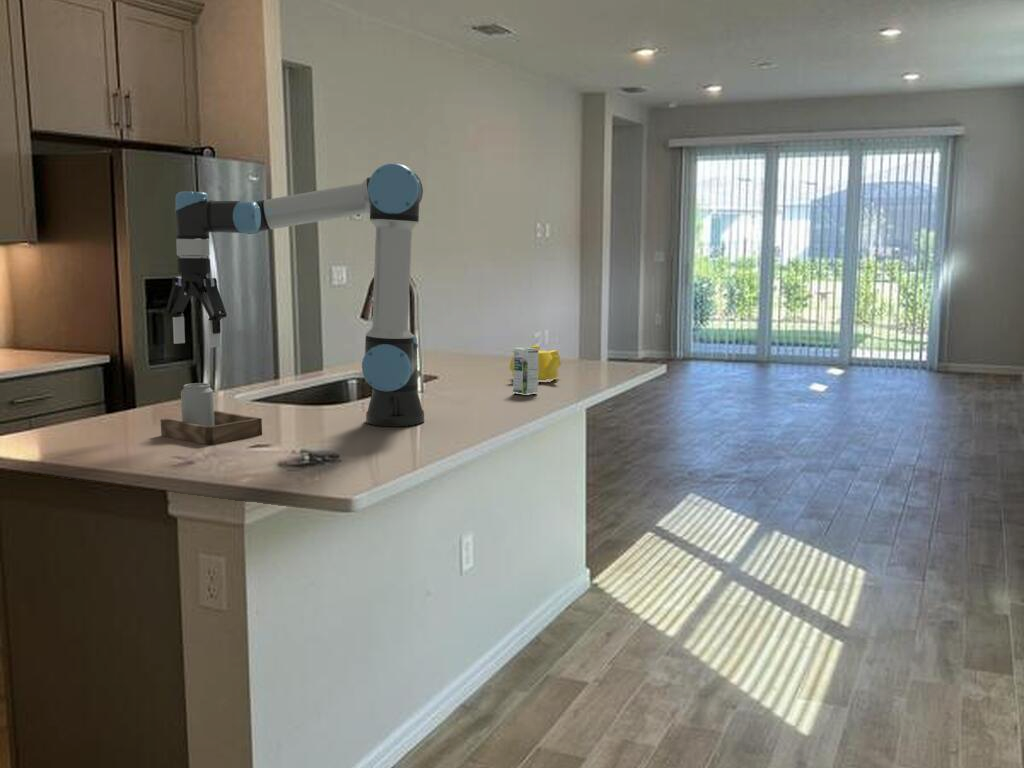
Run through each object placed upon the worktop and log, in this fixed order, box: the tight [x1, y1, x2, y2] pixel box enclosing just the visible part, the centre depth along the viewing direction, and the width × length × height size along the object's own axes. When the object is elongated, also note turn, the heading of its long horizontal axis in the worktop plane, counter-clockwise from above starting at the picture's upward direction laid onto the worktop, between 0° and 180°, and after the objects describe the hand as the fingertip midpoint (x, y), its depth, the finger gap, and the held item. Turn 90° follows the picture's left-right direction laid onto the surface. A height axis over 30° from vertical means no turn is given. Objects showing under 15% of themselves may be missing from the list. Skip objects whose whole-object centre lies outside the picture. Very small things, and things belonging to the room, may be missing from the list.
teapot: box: [509, 345, 562, 380], centre depth 329 cm, size 17×17×12 cm
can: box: [180, 382, 215, 427], centre depth 235 cm, size 8×8×12 cm
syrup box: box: [512, 346, 539, 394], centre depth 298 cm, size 6×6×14 cm
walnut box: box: [160, 410, 263, 446], centre depth 233 cm, size 18×15×4 cm
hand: (196, 345), depth 235 cm, fingers open, 13 cm apart
